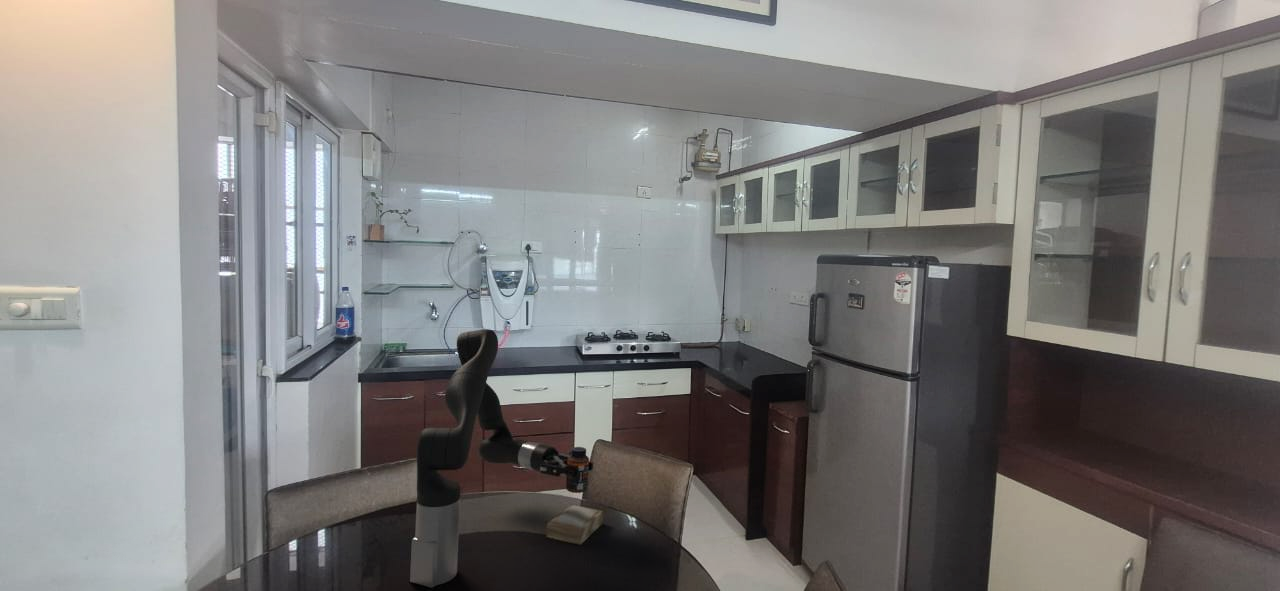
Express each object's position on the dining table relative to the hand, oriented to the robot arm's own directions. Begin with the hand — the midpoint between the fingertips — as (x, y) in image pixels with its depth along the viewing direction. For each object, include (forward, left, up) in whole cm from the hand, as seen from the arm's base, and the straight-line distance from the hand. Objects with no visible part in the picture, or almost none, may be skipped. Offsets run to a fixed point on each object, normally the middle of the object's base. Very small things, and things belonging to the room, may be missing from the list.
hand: (585, 469), depth 144 cm
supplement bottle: (0, +3, -6) cm, 7 cm away
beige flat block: (0, +2, -17) cm, 17 cm away
